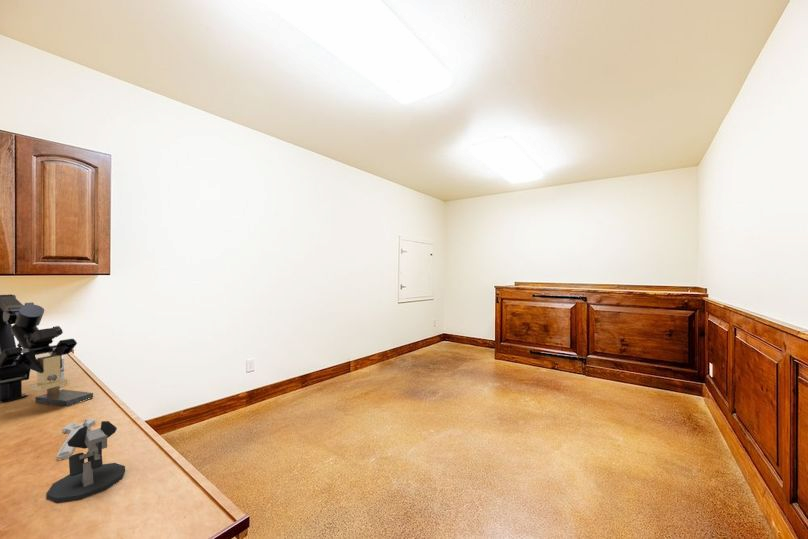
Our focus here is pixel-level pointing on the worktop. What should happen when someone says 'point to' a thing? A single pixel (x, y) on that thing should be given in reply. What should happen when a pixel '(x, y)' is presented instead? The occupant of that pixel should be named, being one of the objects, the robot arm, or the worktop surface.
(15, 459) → the worktop surface
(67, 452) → the adjustable wrench
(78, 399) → the brushed steel slab
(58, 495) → the gun turret
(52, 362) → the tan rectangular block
